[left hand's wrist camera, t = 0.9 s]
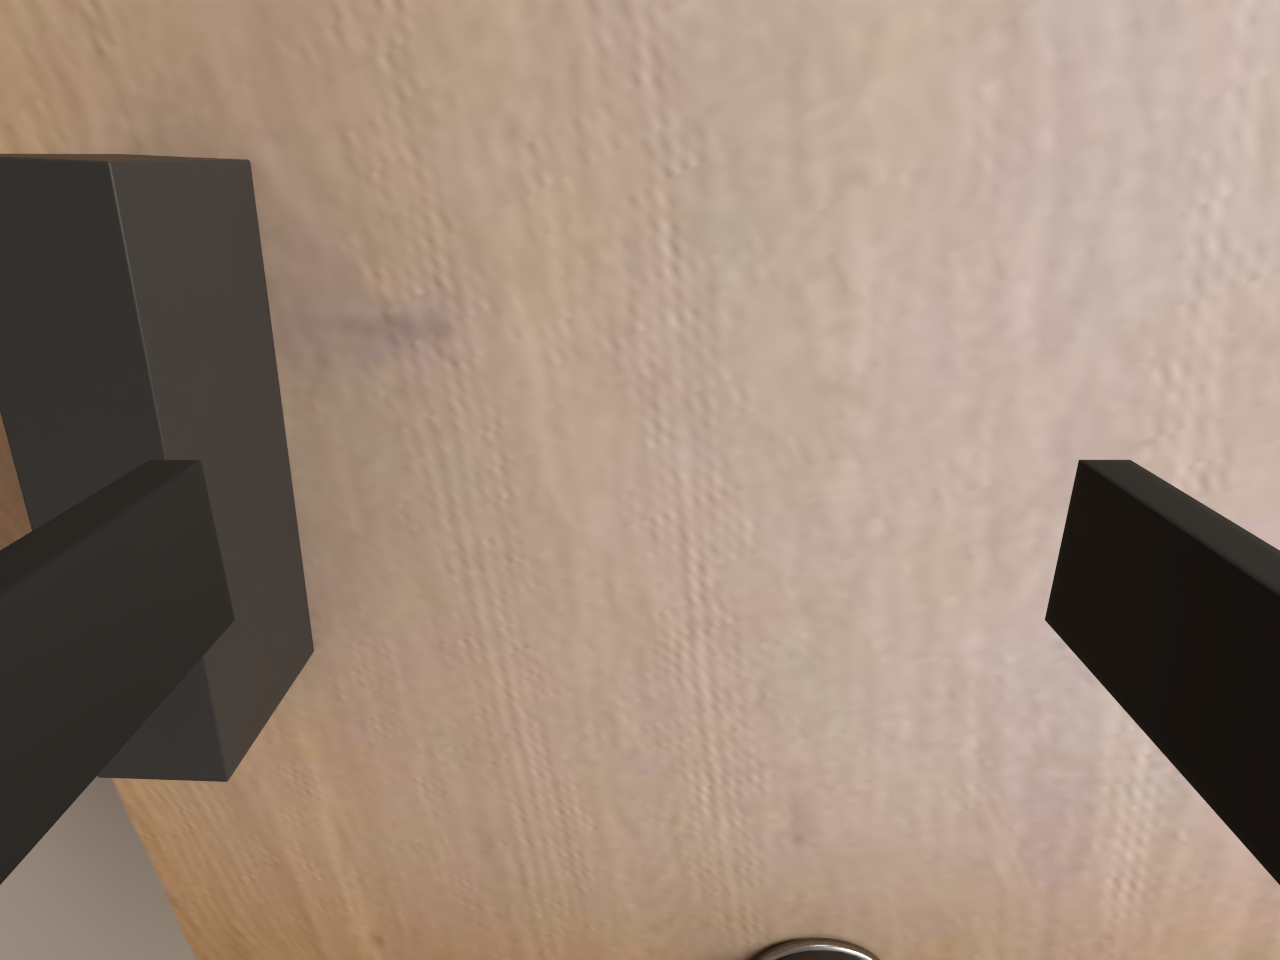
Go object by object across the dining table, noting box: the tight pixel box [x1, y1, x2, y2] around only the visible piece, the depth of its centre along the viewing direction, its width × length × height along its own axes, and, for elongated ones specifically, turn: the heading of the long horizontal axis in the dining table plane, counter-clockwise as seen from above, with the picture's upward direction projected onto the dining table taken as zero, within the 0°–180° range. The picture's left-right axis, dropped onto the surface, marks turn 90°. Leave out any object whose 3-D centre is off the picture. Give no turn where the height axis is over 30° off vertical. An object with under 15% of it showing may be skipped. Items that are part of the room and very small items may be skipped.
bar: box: [0, 154, 314, 782], centre depth 31 cm, size 22×5×9 cm, turn 178°
